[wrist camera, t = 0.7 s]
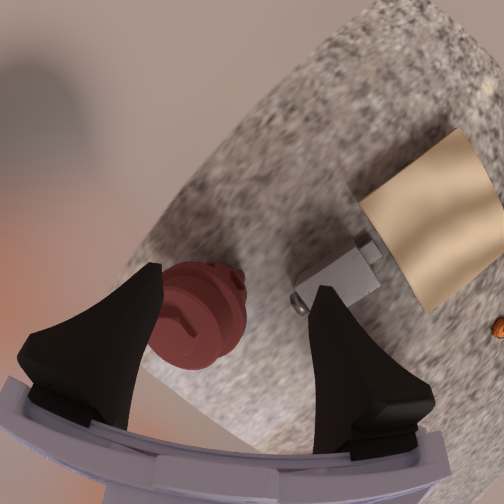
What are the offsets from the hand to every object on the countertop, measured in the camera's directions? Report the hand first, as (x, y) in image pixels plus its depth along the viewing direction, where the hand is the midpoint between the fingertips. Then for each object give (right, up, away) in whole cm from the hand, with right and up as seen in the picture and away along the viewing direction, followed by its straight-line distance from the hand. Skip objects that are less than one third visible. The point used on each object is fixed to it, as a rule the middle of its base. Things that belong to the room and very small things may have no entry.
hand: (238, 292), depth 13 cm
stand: (+21, +5, +12) cm, 25 cm away
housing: (+10, 0, +17) cm, 20 cm away
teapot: (+33, -8, +13) cm, 36 cm away
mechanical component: (-3, -2, +21) cm, 21 cm away
